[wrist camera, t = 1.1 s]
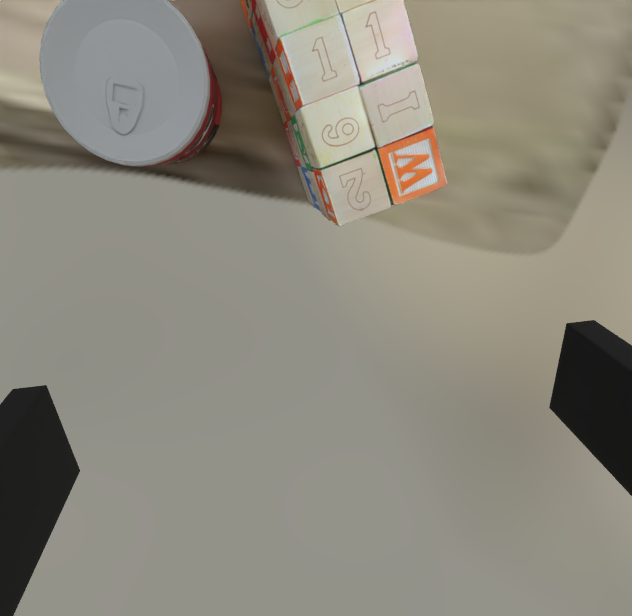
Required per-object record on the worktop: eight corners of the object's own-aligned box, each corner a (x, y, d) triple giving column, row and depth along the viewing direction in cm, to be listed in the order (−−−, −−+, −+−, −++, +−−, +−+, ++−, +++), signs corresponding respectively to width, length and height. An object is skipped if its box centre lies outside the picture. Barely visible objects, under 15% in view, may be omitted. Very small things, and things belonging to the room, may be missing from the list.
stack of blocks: (193, -128, 28) (151, -333, 16) (288, -163, 28) (315, -391, 16) (309, 205, 35) (338, 229, 23) (385, 177, 35) (451, 187, 24)
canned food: (123, 168, 32) (63, 173, 22) (96, 42, 30) (13, -19, 19) (230, 158, 33) (221, 159, 23) (213, 34, 31) (194, -28, 20)
